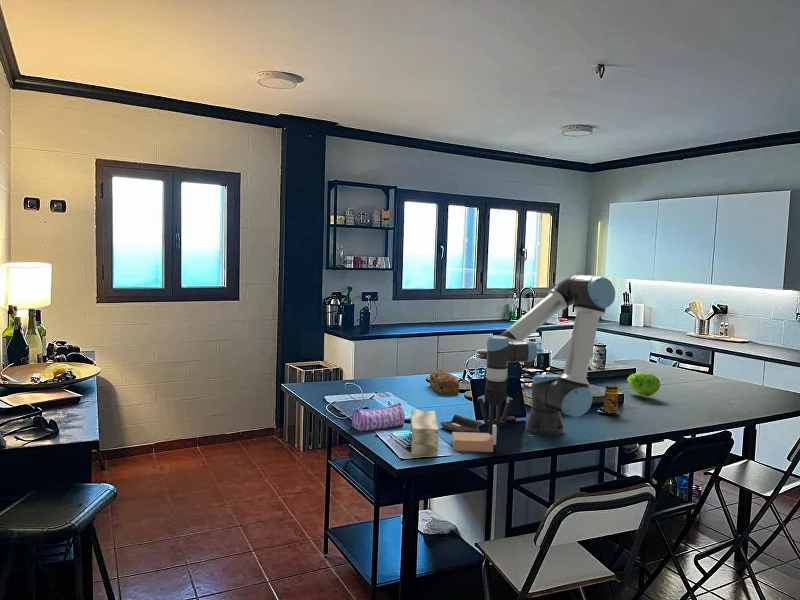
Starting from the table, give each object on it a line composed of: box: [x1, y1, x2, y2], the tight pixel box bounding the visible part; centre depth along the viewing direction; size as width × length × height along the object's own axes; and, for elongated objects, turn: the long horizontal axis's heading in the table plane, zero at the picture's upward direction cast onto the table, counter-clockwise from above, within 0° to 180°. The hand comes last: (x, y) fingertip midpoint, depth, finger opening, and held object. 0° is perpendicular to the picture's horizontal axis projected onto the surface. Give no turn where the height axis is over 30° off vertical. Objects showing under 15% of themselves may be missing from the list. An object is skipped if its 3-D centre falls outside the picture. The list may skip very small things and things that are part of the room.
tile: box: [451, 431, 494, 453], centre depth 217 cm, size 14×10×4 cm
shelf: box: [409, 409, 440, 457], centre depth 217 cm, size 9×24×10 cm, turn 0°
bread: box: [429, 370, 460, 396], centre depth 301 cm, size 19×11×10 cm, turn 12°
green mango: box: [627, 372, 661, 397], centre depth 313 cm, size 14×20×12 cm
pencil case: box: [351, 402, 406, 432], centre depth 235 cm, size 22×9×10 cm, turn 128°
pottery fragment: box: [440, 414, 484, 433], centre depth 236 cm, size 15×12×4 cm
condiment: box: [597, 384, 619, 414], centre depth 274 cm, size 7×8×12 cm
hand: (493, 443), depth 217 cm, fingers closed
